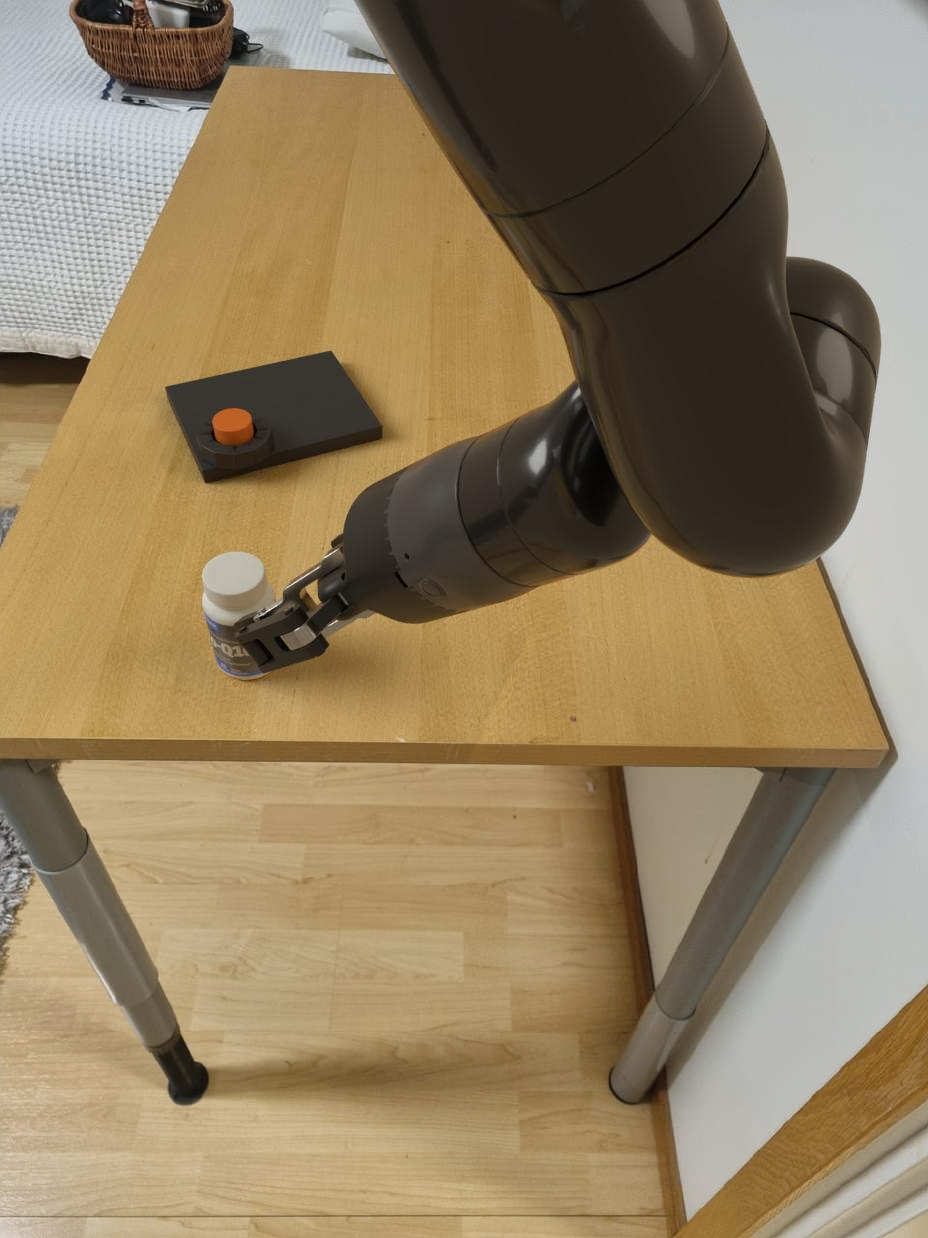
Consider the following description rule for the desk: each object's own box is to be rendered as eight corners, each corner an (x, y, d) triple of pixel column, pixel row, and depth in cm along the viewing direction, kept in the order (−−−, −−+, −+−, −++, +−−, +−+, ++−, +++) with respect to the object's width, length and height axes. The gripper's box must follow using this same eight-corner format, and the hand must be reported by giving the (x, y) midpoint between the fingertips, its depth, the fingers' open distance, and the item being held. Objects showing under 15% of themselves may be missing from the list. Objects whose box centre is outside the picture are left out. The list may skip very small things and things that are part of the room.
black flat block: (208, 491, 77) (202, 462, 75) (167, 399, 86) (160, 370, 83) (387, 445, 82) (386, 417, 80) (332, 362, 91) (330, 334, 88)
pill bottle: (202, 669, 65) (179, 585, 58) (238, 622, 68) (220, 538, 61) (262, 690, 64) (246, 607, 57) (296, 642, 67) (284, 558, 60)
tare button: (221, 450, 77) (218, 434, 76) (210, 428, 79) (207, 413, 77) (258, 440, 78) (256, 425, 77) (247, 419, 80) (245, 404, 78)
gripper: (497, 393, 47) (335, 481, 59) (309, 551, 39) (168, 614, 51) (575, 515, 49) (403, 575, 61) (412, 690, 41) (252, 717, 53)
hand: (296, 593), depth 56 cm, fingers open, 8 cm apart
